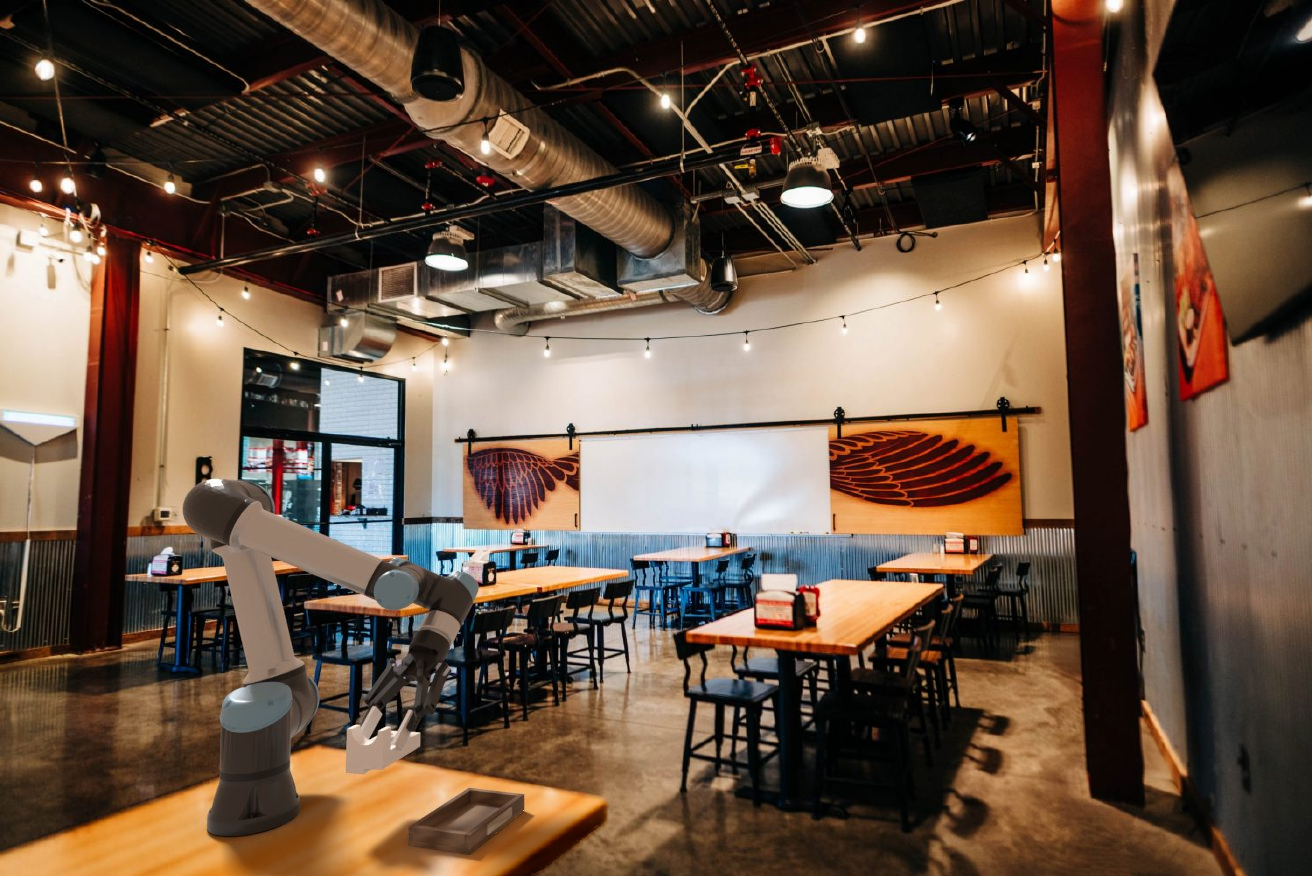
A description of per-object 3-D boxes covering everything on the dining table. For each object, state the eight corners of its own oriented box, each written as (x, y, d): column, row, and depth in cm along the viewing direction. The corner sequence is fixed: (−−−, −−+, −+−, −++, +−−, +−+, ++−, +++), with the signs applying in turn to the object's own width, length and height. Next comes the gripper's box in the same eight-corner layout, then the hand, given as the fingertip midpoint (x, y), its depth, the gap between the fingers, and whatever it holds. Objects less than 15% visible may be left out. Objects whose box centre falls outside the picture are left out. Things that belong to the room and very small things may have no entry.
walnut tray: (408, 845, 125) (408, 826, 125) (468, 804, 142) (468, 787, 142) (471, 854, 121) (471, 835, 121) (525, 811, 138) (525, 794, 138)
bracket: (381, 775, 130) (383, 731, 130) (345, 773, 131) (346, 728, 132) (419, 751, 142) (420, 711, 143) (386, 749, 144) (387, 709, 144)
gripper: (484, 652, 151) (433, 760, 134) (400, 647, 157) (343, 749, 141) (469, 630, 146) (416, 739, 129) (384, 625, 153) (323, 728, 136)
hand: (378, 744), depth 135 cm, fingers closed on bracket, 7 cm apart
